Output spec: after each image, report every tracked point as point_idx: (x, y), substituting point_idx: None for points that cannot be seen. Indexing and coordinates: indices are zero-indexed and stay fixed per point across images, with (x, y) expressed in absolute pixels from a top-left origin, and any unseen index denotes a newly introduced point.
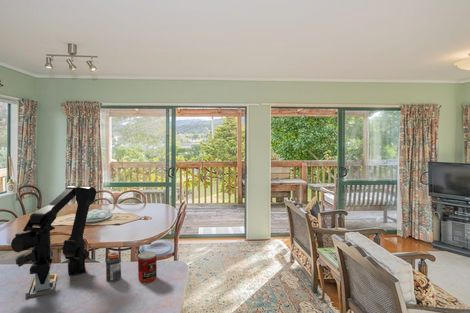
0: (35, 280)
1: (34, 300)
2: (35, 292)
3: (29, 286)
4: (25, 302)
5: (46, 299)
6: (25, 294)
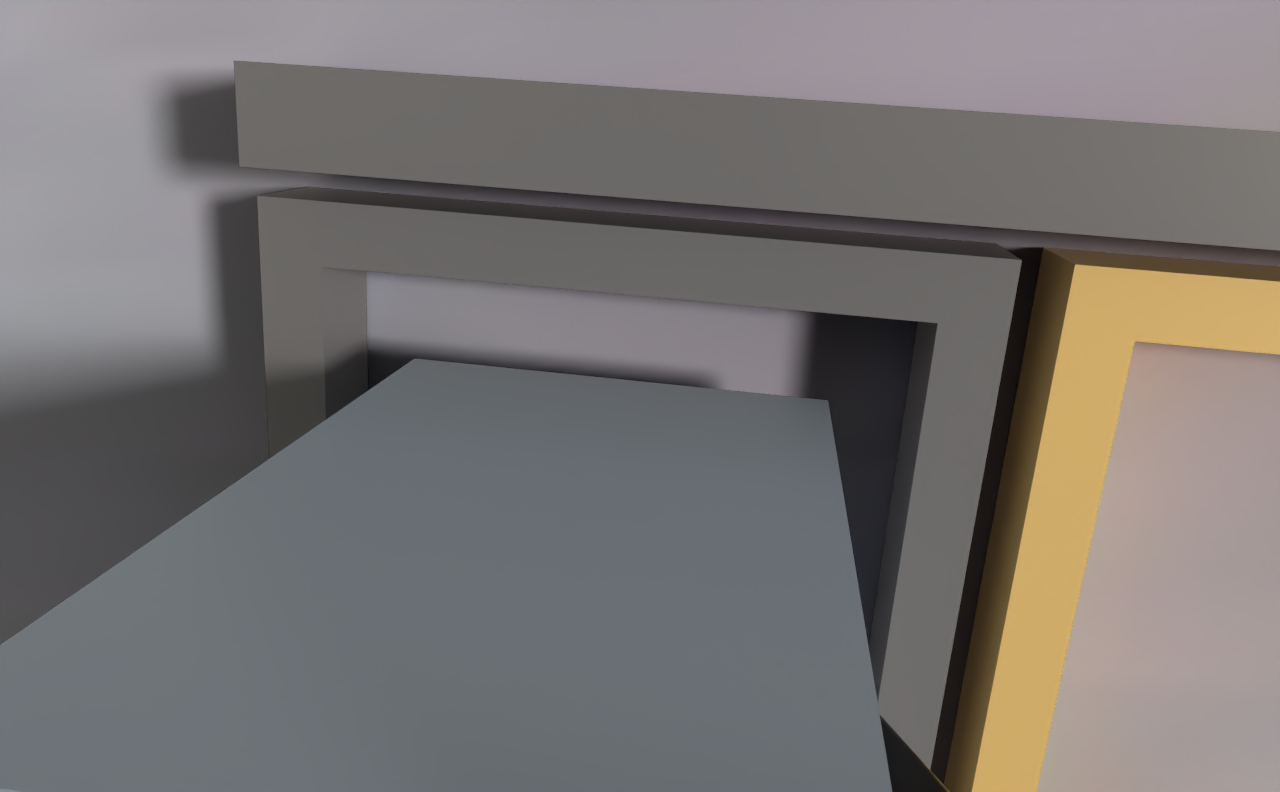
0: (189, 529)
1: (57, 317)
2: (314, 363)
3: (836, 165)
4: (25, 92)
5: (2, 579)
6: (250, 66)
